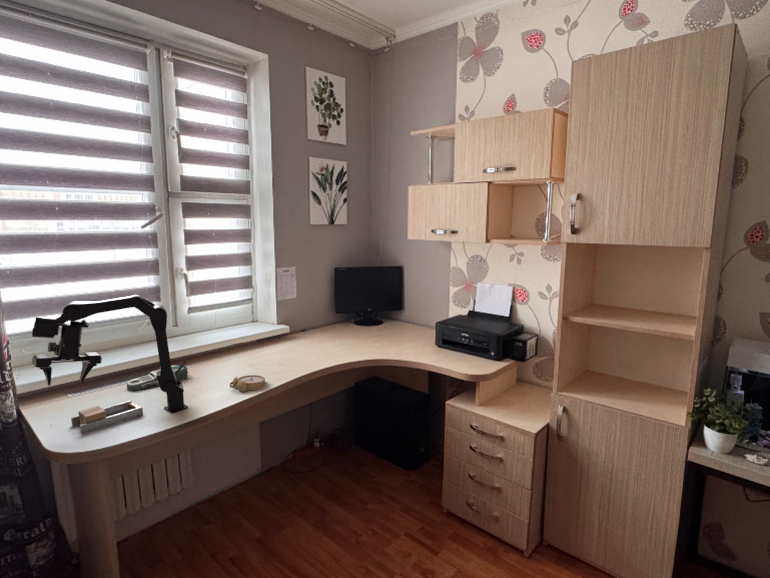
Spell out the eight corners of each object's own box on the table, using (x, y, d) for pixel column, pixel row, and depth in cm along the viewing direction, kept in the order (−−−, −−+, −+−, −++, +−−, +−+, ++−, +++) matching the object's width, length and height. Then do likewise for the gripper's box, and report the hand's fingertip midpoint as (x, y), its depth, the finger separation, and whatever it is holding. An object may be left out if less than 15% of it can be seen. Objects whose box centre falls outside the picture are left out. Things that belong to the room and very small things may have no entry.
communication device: (122, 387, 195) (120, 367, 193) (179, 373, 212) (177, 354, 210) (131, 394, 186) (129, 374, 185) (190, 379, 203) (188, 360, 202)
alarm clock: (270, 380, 194) (236, 382, 184) (268, 392, 194) (234, 394, 184) (258, 373, 202) (225, 375, 192) (257, 384, 203) (224, 386, 193)
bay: (143, 415, 166) (142, 407, 166) (82, 434, 151) (81, 425, 151) (131, 407, 173) (130, 400, 172) (71, 425, 158) (71, 417, 157)
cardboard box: (107, 424, 158) (105, 410, 158) (87, 430, 154) (85, 416, 153) (99, 418, 163) (98, 405, 162) (79, 424, 158) (78, 411, 157)
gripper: (93, 332, 166) (88, 374, 167) (30, 334, 151) (25, 379, 152) (104, 340, 158) (99, 383, 159) (39, 342, 144) (33, 390, 145)
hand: (65, 383), depth 154 cm, fingers open, 9 cm apart
